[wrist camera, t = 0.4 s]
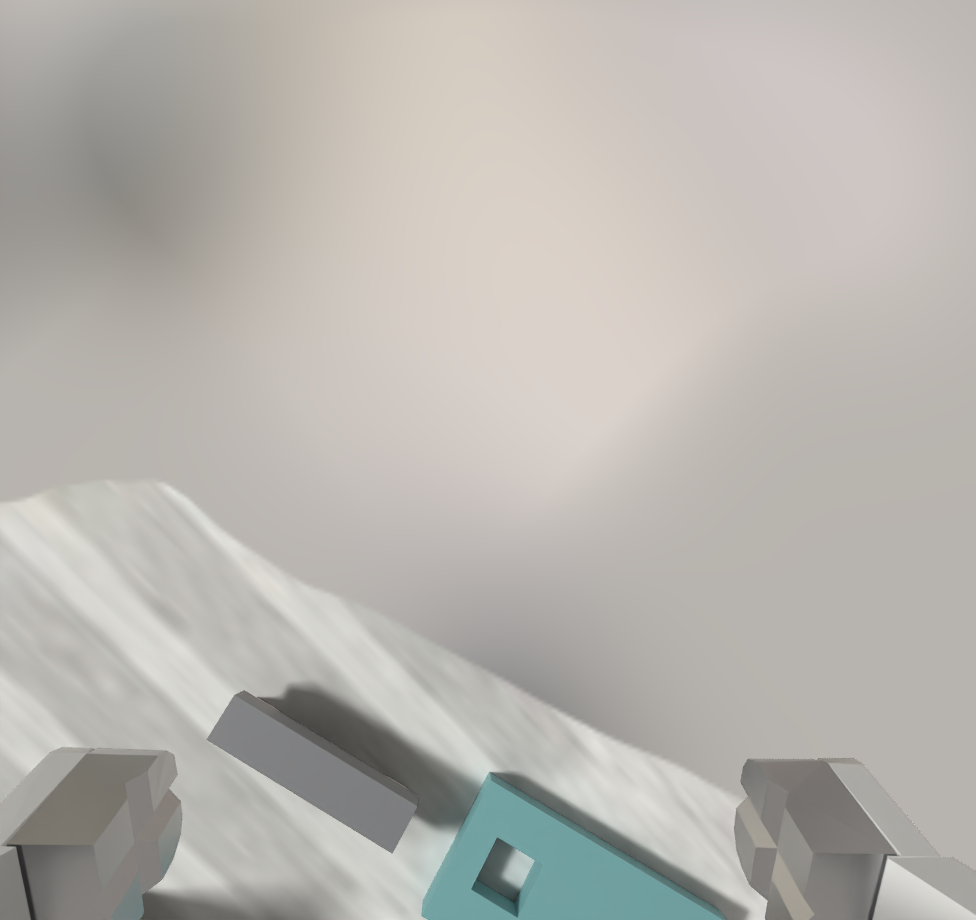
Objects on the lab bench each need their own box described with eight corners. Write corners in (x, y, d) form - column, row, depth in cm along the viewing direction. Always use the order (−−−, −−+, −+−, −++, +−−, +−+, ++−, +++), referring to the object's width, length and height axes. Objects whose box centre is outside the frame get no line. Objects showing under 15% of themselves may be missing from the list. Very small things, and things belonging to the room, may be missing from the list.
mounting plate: (718, 909, 55) (730, 924, 52) (661, 1047, 52) (671, 1070, 50) (489, 772, 56) (491, 780, 54) (422, 900, 54) (421, 915, 51)
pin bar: (420, 785, 55) (417, 806, 50) (398, 827, 55) (392, 853, 49) (255, 684, 56) (234, 695, 51) (230, 724, 56) (206, 739, 50)
